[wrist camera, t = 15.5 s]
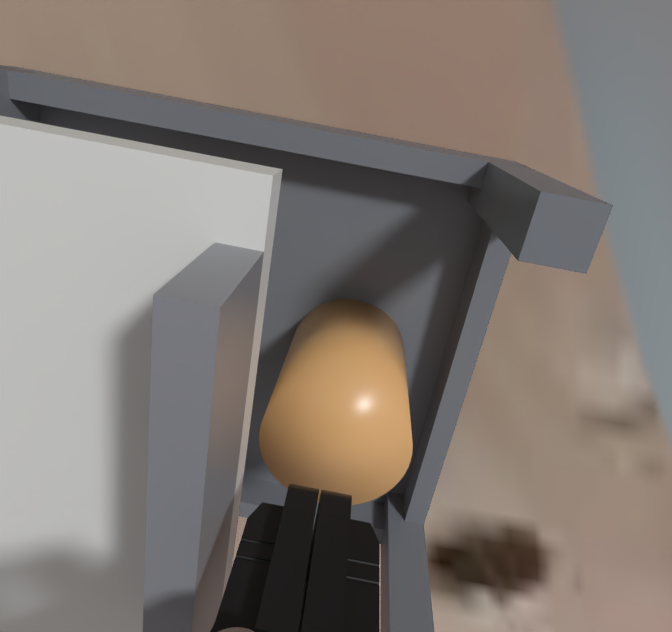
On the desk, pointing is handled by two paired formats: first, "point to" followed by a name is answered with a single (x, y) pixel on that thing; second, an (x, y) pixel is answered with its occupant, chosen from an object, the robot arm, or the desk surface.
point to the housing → (356, 296)
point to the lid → (124, 376)
